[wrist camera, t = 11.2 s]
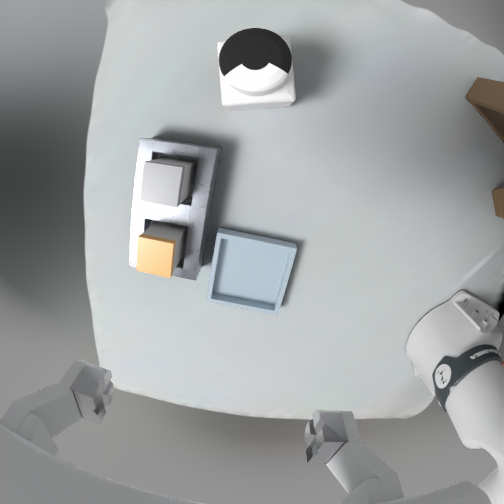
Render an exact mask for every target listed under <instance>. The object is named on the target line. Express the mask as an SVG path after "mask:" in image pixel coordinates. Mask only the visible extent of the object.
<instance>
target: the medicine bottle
mask: <svg viewBox="0 0 504 504" xmlns="http://www.w3.org/2000/svg"><path fill="white" fill-rule="evenodd" d="M217 47H218V60H219V73H220V85H221V97H222V104H223V106H225V107H226V108H227V109H229V110H230V111H242V110H254V109H269V108H288V107H289V106H290V105H291V104H292V103H293V102H294V101H295V100H296V94H295V82H294V72H293V62H292V52H291V43H290V38H289V37H280V36H279V35H277V34H276V33H274V32H272V31H269V30H266V29H261V28H250V29H245V30H242V31H239V32H237V33H235V34H234V35H232V36H231V37H230V38H228V39H227V41H220V42H218V44H217Z"/></svg>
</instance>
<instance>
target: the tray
mask: <svg viewBox="0 0 504 504" xmlns="http://www.w3.org/2000/svg"><path fill="white" fill-rule="evenodd" d="M296 251H297V247H296V243H292V242H287V241H282V240H278V239H273V238H268V237H263V236H258V235H253V234H249V233H244V232H239V231H234V230H229V229H224V228H219V229H218V232H217V236H216V242H215V248H214V254H213V260H212V266H211V272H210V279H209V285H208V291H207V298H206V301H207V302H212V303H217V304H222V305H227V306H232V307H237V308H242V309H247V310H253V311H258V312H264V313H269V314H275V315H278V313H279V309H280V306H281V303H282V300H283V296H284V293H285V289H286V286H287V283H288V279H289V276H290V272H291V269H292V265H293V262H294V258H295V255H296Z"/></svg>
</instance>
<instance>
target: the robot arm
mask: <svg viewBox="0 0 504 504" xmlns="http://www.w3.org/2000/svg"><path fill="white" fill-rule="evenodd" d="M498 320H499V312H498V311H497V310H496V309H495V308H493V307H491V306H490V305H488V304H486V303H485V302H483V301H481V300H480V299H478V298H476V297H474V296H473V295H471V294H469V293H468V292H466V291H464V290H461V291H459V292H458V293H456V294H455V295H454V296H453V297H452V298H451V299H450V300H449V301H447V302H446V303H444V304H442V305H440V306H438V307H436V308H434V309H433V310H431V311H430V312H429V313H427V314H426V315H425V316H424V317H423V318H422V319H421V320H420V321H419V322H418V324H417V325H416V326H415V328H414V329H413V331H412V332H411V334H410V336H409V339H408V342H407V346H406V353H407V357H408V359H409V360H410V361H411V362H412V364H413V371H414V373H415V375H416V376H421V378H422V379H423V381H424V382H425V384H426V385H427V386H428V388H429V389H430V391H431V392H432V394H433V395H435V396H436V397H437V399H438V402H439V404H440V406H442V408H443V409H444V411H445V412H448V414H449V416H450V418H451V420H452V422H453V424H454V426H455V429H456V431H457V432H458V435H459V437H460V439H461V441H462V443H463V444H464V445H465V446H466V447H468V448H472V449H477V448H484V449H485V450H487V451H488V452H489V453H490V454H491V455H492V456H493V457H494V459H495V460H496V462H497V464H498V467H497V468H496V469H495V470H494V471H493V472H492V473H491V474H490V475H489V476H488V477H486V478H485V479H484V480H483V481H482V482H481V483H480V484H479V485H478V486H476V485H475V484H473V483H472V482H470V481H467V480H465V481H460V482H458V483H455V484H452V485H449V486H446V487H443V488H440V489H436V490H433V491H429V492H426V493H422V494H418V495H415V496H410V497H406V498H404V496H403V492H402V488H401V485H400V481H399V477H398V474H397V473H396V472H395V471H393V469H391V468H390V467H389V466H388V465H387V464H386V463H385V462H384V461H383V460H381V458H380V457H379V456H377V455H376V454H375V453H374V452H373V451H372V450H371V449H370V448H369V447H368V446H367V445H366V444H365V443H364V442H360V438H359V434H358V431H357V427H356V423H355V419H354V416H353V413H352V412H351V411H326V410H316V411H315V412H314V414H313V419H312V420H310V421H309V422H308V424H307V426H306V429H305V442H306V443H307V444H308V445H309V447H308V448H307V450H306V455H307V463H315V464H327V466H328V468H329V469H330V470H331V472H332V473H333V474H334V475H335V477H336V478H337V479H338V481H339V482H340V483H341V485H342V486H343V487H344V489H345V490H346V491H347V492H348V495H347V496H345V497H344V498H343V499H342V500H340V501H339V502H338V504H504V367H503V365H504V361H503V362H502V359H501V357H500V356H501V355H500V353H499V352H498V350H499V347H500V345H501V342H502V333H501V331H500V330H499V329H498V327H497V323H498ZM111 377H112V375H111V371H109V370H106V369H104V368H101V367H98V366H96V365H93V364H91V363H88V362H85V361H83V360H80V359H76V360H75V361H74V362H73V363H72V365H71V366H70V368H69V369H68V371H67V372H66V374H65V375H64V377H63V378H62V380H61V381H60V383H59V384H53V385H51V386H49V387H46V388H44V389H42V390H39V391H37V392H35V393H32V394H30V395H27V396H25V397H23V398H20V399H18V400H16V401H13V403H12V404H11V405H10V407H9V408H8V410H7V411H6V413H5V414H4V416H3V417H2V419H1V420H0V504H206V503H200V502H194V501H189V500H184V499H179V498H175V497H170V496H165V495H162V494H158V493H154V492H150V491H147V490H143V489H140V488H137V487H133V486H130V485H127V484H124V483H121V482H118V481H115V480H112V479H109V478H106V477H104V476H101V475H99V474H96V473H93V472H91V471H89V470H86V469H84V468H82V467H79V466H77V465H75V464H73V463H70V462H68V461H66V460H64V459H62V458H60V457H58V456H56V454H57V452H58V448H57V446H56V445H55V443H54V441H53V440H52V438H53V437H54V436H56V435H58V434H59V433H61V432H62V431H64V430H65V429H67V428H68V427H70V426H71V425H73V424H75V423H76V422H78V421H79V420H81V419H82V418H85V419H88V420H90V421H93V422H95V423H98V424H101V421H102V419H103V417H104V415H105V413H106V411H105V406H107V405H109V404H110V402H111V400H112V397H113V391H114V386H113V383H112V382H111V381H110V379H111Z"/></svg>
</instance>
